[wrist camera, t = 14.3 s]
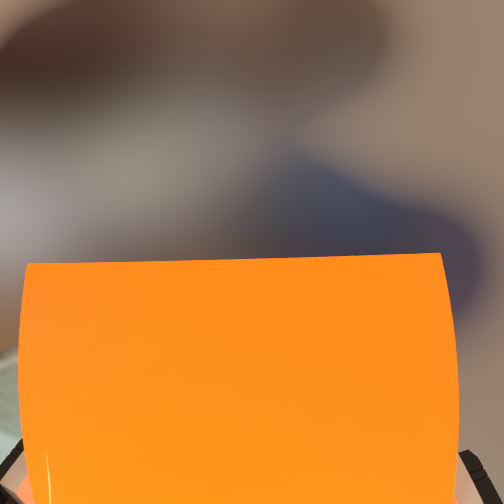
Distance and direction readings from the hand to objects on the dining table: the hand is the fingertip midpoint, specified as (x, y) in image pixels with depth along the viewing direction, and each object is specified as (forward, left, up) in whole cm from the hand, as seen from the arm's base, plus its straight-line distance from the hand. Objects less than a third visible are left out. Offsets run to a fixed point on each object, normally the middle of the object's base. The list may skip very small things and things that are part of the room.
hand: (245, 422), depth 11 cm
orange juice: (-2, -3, -13) cm, 13 cm away
